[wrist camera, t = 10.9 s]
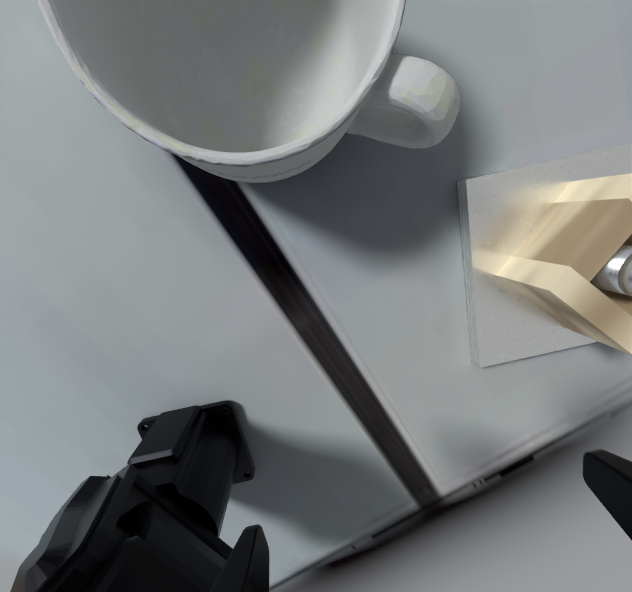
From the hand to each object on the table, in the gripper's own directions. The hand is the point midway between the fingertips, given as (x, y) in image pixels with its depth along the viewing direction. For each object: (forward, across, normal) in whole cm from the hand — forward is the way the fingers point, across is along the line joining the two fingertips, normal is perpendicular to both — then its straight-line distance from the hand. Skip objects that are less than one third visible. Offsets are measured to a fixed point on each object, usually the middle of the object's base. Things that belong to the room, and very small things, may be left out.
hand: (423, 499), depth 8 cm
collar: (+11, -14, -2) cm, 18 cm away
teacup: (+12, +1, -14) cm, 19 cm away
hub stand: (+12, -14, -2) cm, 19 cm away
